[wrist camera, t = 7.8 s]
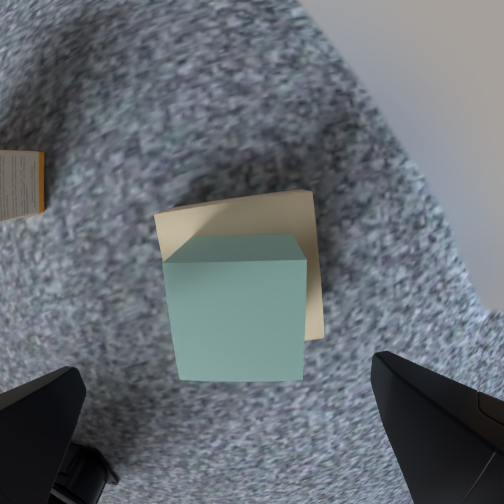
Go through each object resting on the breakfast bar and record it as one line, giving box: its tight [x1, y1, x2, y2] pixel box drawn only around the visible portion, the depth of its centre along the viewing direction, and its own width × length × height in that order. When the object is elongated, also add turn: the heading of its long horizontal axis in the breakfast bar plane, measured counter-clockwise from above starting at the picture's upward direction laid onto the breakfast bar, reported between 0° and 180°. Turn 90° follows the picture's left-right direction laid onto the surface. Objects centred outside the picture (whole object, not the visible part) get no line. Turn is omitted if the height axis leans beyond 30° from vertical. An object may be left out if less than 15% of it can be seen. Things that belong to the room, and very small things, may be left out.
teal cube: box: [162, 234, 307, 382], centre depth 14 cm, size 5×5×5 cm
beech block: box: [154, 189, 324, 341], centre depth 18 cm, size 8×8×4 cm
